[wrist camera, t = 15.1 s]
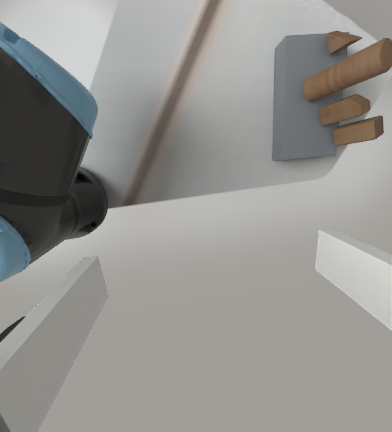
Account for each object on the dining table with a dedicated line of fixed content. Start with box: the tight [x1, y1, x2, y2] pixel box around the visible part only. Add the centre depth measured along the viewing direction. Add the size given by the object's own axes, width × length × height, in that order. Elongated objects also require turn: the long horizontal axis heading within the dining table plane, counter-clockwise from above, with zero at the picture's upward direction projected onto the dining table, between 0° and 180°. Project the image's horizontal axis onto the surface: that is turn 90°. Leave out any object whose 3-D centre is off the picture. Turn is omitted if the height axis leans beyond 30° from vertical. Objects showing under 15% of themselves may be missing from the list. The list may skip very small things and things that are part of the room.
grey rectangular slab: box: [272, 32, 349, 160], centre depth 37 cm, size 11×20×4 cm, turn 5°
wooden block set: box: [303, 31, 392, 146], centre depth 31 cm, size 18×9×10 cm, turn 22°
